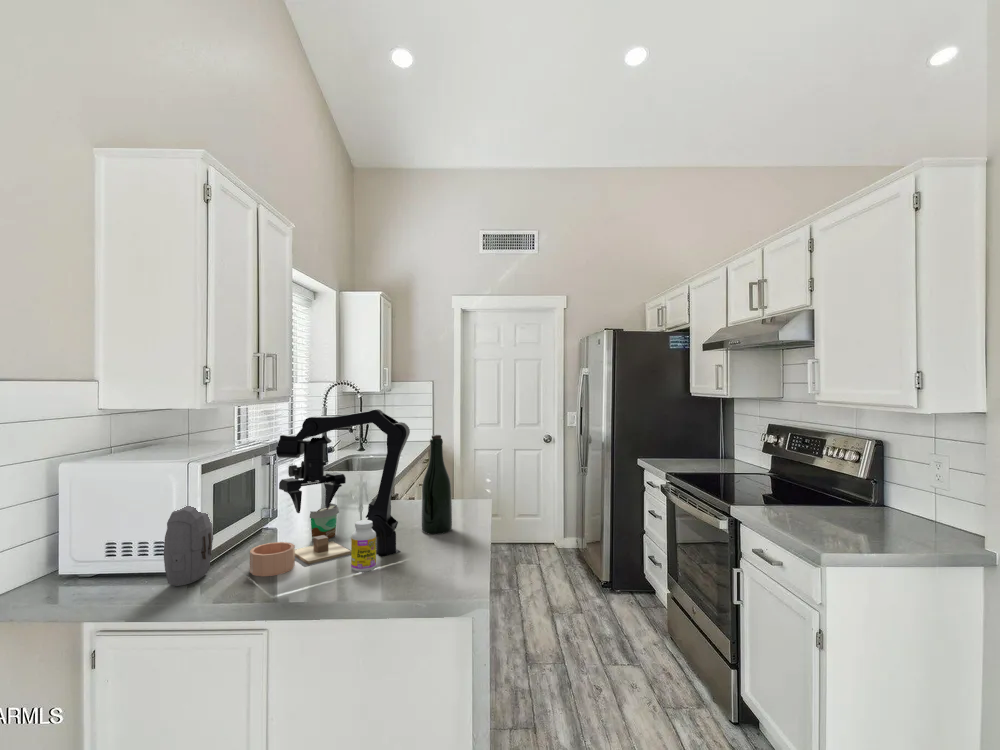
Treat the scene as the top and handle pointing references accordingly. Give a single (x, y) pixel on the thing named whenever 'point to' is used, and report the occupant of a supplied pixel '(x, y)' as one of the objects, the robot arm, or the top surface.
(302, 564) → the mat
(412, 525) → the top surface
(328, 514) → the food container
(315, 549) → the lid
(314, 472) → the robot arm
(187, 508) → the small grey backpack
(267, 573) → the bowl
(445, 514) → the dark green wine bottle
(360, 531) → the supplement bottle
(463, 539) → the top surface
